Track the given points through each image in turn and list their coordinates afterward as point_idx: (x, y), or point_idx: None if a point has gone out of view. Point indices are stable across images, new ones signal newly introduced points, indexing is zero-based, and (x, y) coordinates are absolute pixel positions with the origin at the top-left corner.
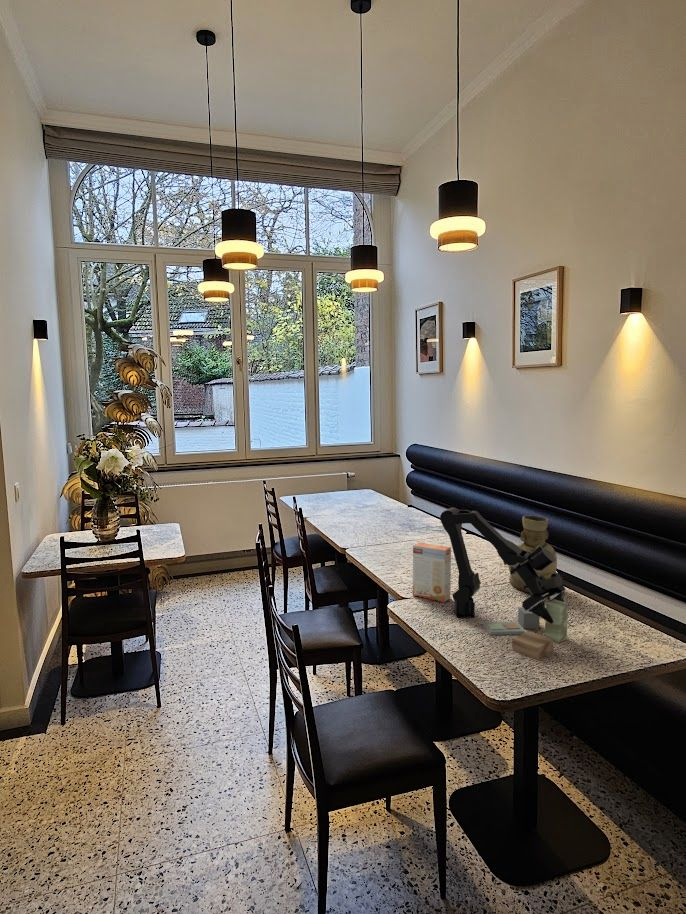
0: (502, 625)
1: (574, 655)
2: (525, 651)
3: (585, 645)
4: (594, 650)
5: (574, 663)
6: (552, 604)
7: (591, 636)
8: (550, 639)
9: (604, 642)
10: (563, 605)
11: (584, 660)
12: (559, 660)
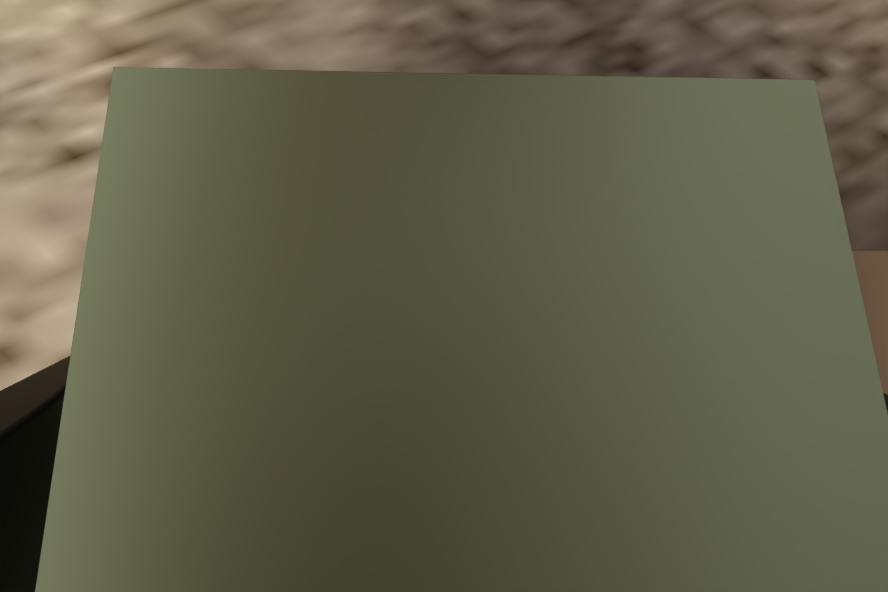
0: None
1: None
2: None
3: None
4: (390, 30)
5: (802, 35)
6: (833, 516)
7: (41, 198)
8: (883, 282)
9: (113, 42)
10: (499, 99)
11: (671, 4)
12: (878, 147)
